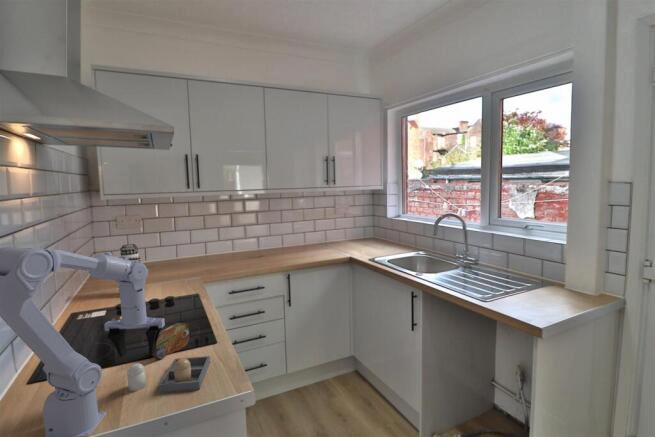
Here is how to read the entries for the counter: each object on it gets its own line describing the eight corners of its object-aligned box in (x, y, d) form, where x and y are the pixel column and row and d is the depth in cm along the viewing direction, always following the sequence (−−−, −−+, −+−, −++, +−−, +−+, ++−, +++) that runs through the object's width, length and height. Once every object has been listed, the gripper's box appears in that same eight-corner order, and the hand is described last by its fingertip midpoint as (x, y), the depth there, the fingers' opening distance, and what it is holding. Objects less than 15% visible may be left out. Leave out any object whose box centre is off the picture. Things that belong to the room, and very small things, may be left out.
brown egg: (173, 388, 94) (171, 363, 93) (177, 379, 98) (175, 356, 98) (189, 386, 95) (187, 362, 94) (193, 378, 99) (191, 354, 98)
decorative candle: (117, 297, 172) (113, 246, 169) (130, 291, 181) (126, 243, 178) (135, 297, 171) (130, 246, 168) (147, 291, 180) (143, 243, 177)
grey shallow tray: (159, 394, 92) (158, 385, 92) (175, 367, 106) (174, 358, 106) (199, 390, 94) (199, 381, 93) (210, 364, 107) (209, 355, 107)
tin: (156, 364, 108) (154, 338, 107) (149, 362, 109) (147, 336, 108) (192, 342, 122) (190, 319, 121) (185, 341, 123) (183, 318, 122)
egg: (125, 393, 93) (123, 369, 92) (132, 384, 97) (130, 361, 96) (142, 392, 94) (140, 367, 93) (148, 383, 98) (146, 359, 97)
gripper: (167, 298, 98) (170, 345, 99) (112, 301, 97) (116, 348, 98) (157, 307, 91) (161, 357, 92) (98, 310, 90) (103, 361, 91)
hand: (137, 354), depth 95 cm, fingers open, 7 cm apart
